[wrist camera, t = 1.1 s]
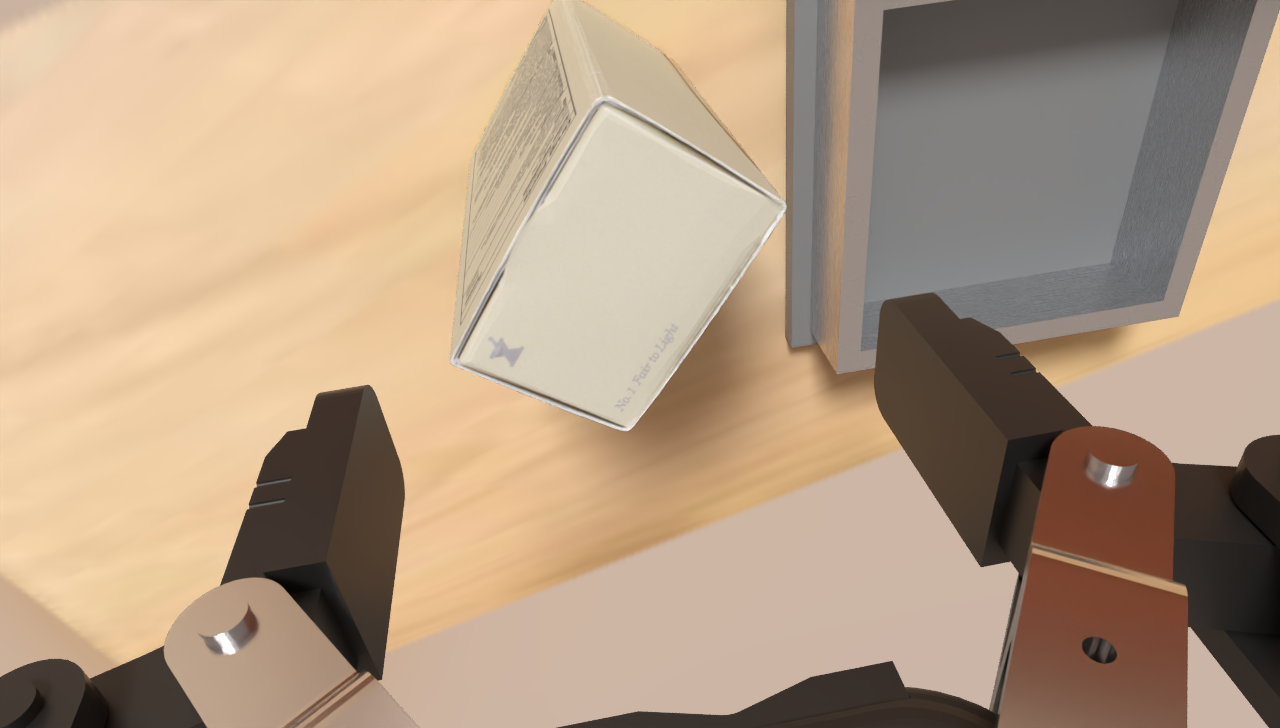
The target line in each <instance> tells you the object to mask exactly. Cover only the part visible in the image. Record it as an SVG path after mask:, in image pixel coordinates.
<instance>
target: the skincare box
mask: <svg viewBox="0 0 1280 728" xmlns="http://www.w3.org/2000/svg"><path fill="white" fill-rule="evenodd" d="M786 208H787V205H786V203H785V201H784V200H783V199H782V198H781V196H780V195H779V194H778V193H777V191H776V190H775V189H774V187H773V186H772V185H771V184H770V182H769V181H768V180H767V179H766V177H765V176H764V175H763V174H762V173H761V171H760V170H759V168H758V167H757V166H756V164H755V163H754V162H753V161H752V159H751V158H750V157H749V156H748V154H747V153H746V152H745V151H744V149H743V148H742V147H741V145H740V144H739V143H738V142H737V140H736V139H735V138H734V136H733V135H732V134H731V132H730V131H729V130H728V129H727V127H726V126H725V125H724V124H723V123H722V121H721V120H720V119H719V117H718V116H717V115H716V113H715V112H714V111H713V110H712V109H711V107H710V106H709V105H708V103H707V102H706V101H705V99H704V98H703V97H702V96H701V94H700V93H699V92H698V90H697V89H696V88H695V87H694V85H693V84H692V83H691V81H690V80H689V79H688V78H687V76H686V75H685V73H684V72H683V71H682V69H681V68H680V67H679V65H678V64H677V63H676V62H675V61H674V60H672V59H671V58H669V57H668V56H666V55H665V54H663V53H662V52H660V51H659V50H658V49H656V48H655V47H653V46H652V45H650V44H649V43H647V42H646V41H644V40H643V39H641V38H640V37H638V36H637V35H635V34H634V33H632V32H630V31H629V30H627V29H626V28H624V27H623V26H621V25H620V24H618V23H616V22H615V21H613V20H612V19H610V18H609V17H607V16H606V15H604V14H602V13H601V12H599V11H598V10H596V9H594V8H593V7H591V6H590V5H588V4H586V3H585V2H583V1H581V0H553V1H552V3H551V5H550V6H549V8H548V10H547V12H546V14H545V15H544V17H543V19H542V21H541V23H540V24H539V26H538V28H537V30H536V32H535V34H534V36H533V37H532V39H531V41H530V43H529V45H528V47H527V49H526V51H525V52H524V54H523V56H522V58H521V60H520V62H519V64H518V66H517V68H516V70H515V71H514V73H513V75H512V77H511V79H510V81H509V83H508V85H507V87H506V89H505V91H504V93H503V95H502V97H501V99H500V101H499V102H498V105H497V107H496V109H495V111H494V113H493V115H492V117H491V119H490V121H489V123H488V125H487V127H486V129H485V131H484V133H483V135H482V137H481V139H480V141H479V143H478V145H477V147H476V150H475V152H474V154H473V156H472V158H471V161H470V167H469V177H468V187H467V197H466V206H465V215H464V225H463V236H462V246H461V254H460V264H459V273H458V284H457V293H456V305H455V314H454V322H453V331H452V343H451V352H450V363H451V365H453V366H455V367H458V368H461V369H463V370H466V371H469V372H472V373H474V374H476V375H478V376H480V377H482V378H485V379H488V380H490V381H493V382H495V383H497V384H500V385H503V386H505V387H507V388H509V389H512V390H515V391H517V392H519V393H521V394H524V395H527V396H530V397H532V398H535V399H538V400H540V401H543V402H545V403H548V404H550V405H553V406H555V407H558V408H560V409H562V410H564V411H568V412H570V413H573V414H576V415H578V416H581V417H584V418H587V419H589V420H592V421H595V422H598V423H600V424H603V425H606V426H609V427H612V428H614V429H616V430H619V431H624V432H625V431H629V430H631V429H632V428H633V427H634V426H635V425H636V423H637V422H638V421H639V419H640V418H641V417H642V415H643V414H644V413H645V412H646V411H647V409H648V408H649V406H650V405H651V404H652V402H653V401H654V400H655V399H656V397H657V396H658V395H659V394H660V392H661V391H662V389H663V388H664V387H665V385H666V384H667V382H668V381H669V380H670V378H671V377H672V376H673V374H674V373H675V372H676V370H677V369H678V367H679V366H680V364H681V363H682V362H683V360H684V359H685V357H686V356H687V355H688V353H689V352H690V351H691V349H692V348H693V346H694V345H695V344H696V342H697V341H698V340H699V338H700V337H701V335H702V334H703V332H704V330H705V329H706V327H707V326H708V325H709V323H710V322H711V320H712V319H713V318H714V316H715V315H716V314H717V313H718V311H719V310H720V308H721V306H722V305H723V304H724V302H725V300H726V299H727V298H728V296H729V295H730V293H731V292H732V290H733V289H734V288H735V286H736V285H737V283H738V282H739V281H740V279H741V278H742V276H743V275H744V273H745V271H746V270H747V268H748V267H749V265H750V264H751V262H752V261H753V260H754V258H755V257H756V255H757V254H758V253H759V251H760V249H761V248H762V246H763V245H764V244H765V242H766V241H767V240H768V238H769V237H770V235H771V233H772V232H773V230H774V229H775V227H776V226H777V224H778V222H779V221H780V219H781V218H782V217H783V215H784V213H785V211H786Z"/></svg>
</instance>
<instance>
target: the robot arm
mask: <svg viewBox="0 0 1280 728" xmlns="http://www.w3.org/2000/svg"><path fill="white" fill-rule="evenodd" d="M874 388H875V395H876V400H877V404H878V407H879V410H880V412H881V414H882V416H883V418H884V420H885V421H886V423H887V424H888V426H889V427H890V429H891V430H892V432H893V433H894V435H895V436H896V438H897V439H898V441H899V443H900V444H901V446H902V447H903V449H904V450H905V452H906V453H907V455H908V456H909V458H910V459H911V461H912V463H913V464H914V466H915V467H916V469H917V470H918V471H919V473H920V475H921V476H922V477H923V479H924V481H925V482H926V484H927V486H928V487H929V489H930V490H931V491H932V493H933V495H934V496H935V498H936V499H937V501H938V502H939V504H940V505H941V507H942V508H943V510H944V511H945V513H946V515H947V516H948V518H949V519H950V521H951V522H952V524H953V525H954V527H955V528H956V530H957V531H958V533H959V535H960V536H961V538H962V539H963V541H964V542H965V544H966V545H967V547H968V548H969V550H970V551H971V553H972V554H973V556H974V558H975V559H976V561H977V562H978V564H979V565H980V567H984V566H990V565H995V564H1000V563H1005V562H1010V561H1011V562H1012V564H1013V565H1014V567H1015V568H1016V570H1017V571H1018V572H1019V574H1018V578H1017V582H1016V586H1015V590H1014V595H1013V599H1012V604H1011V609H1010V614H1009V619H1008V624H1007V628H1006V633H1005V638H1004V643H1003V647H1002V652H1001V657H1000V662H999V666H998V671H997V677H996V681H995V686H994V690H993V695H992V699H991V703H990V708H989V710H988V709H986V708H983V707H982V706H979V705H977V704H975V703H972V702H969V701H967V700H964V699H962V698H959V697H956V696H952V695H948V694H945V693H941V692H937V691H932V690H926V689H919V688H910V687H904V684H903V682H902V680H901V678H900V676H899V674H898V672H897V670H896V668H895V665H894V663H893V661H890V662H885V663H880V664H875V665H870V666H865V667H860V668H855V669H850V670H844V671H839V672H834V673H829V674H825V675H819V676H814V677H810V678H808V679H806V680H804V681H802V682H800V683H798V684H796V685H794V686H792V687H790V688H788V689H785V690H783V691H781V692H779V693H777V694H775V695H773V696H771V697H769V698H767V699H765V700H763V701H761V702H759V703H756V704H755V705H752V706H750V707H748V708H746V709H744V710H742V711H740V712H738V713H735V714H730V715H703V714H682V713H660V712H639V711H638V712H634V713H628V714H623V715H619V716H613V717H609V718H603V719H598V720H593V721H588V722H583V723H578V724H573V725H568V726H563V727H558V728H1187V670H1188V668H1187V667H1188V664H1187V663H1188V662H1187V661H1188V627H1191V628H1192V630H1193V631H1194V632H1195V633H1196V635H1197V636H1198V637H1199V638H1200V640H1201V641H1202V643H1203V644H1204V645H1205V646H1206V648H1207V649H1208V650H1209V651H1210V653H1211V654H1212V655H1213V657H1214V658H1215V659H1216V660H1217V662H1218V663H1219V664H1220V666H1221V667H1222V668H1223V669H1224V671H1225V672H1226V673H1227V674H1228V676H1229V677H1230V678H1231V680H1232V681H1233V682H1234V683H1235V685H1236V686H1237V687H1238V689H1239V690H1240V691H1241V692H1242V694H1243V695H1244V696H1245V698H1246V699H1247V700H1248V701H1249V703H1250V704H1251V705H1252V707H1253V708H1254V709H1255V710H1256V712H1257V713H1258V714H1259V715H1260V717H1261V718H1262V719H1263V721H1264V722H1265V723H1266V724H1267V726H1268V727H1269V728H1280V435H1272V436H1266V437H1262V438H1259V439H1257V440H1254V441H1253V442H1251V443H1250V444H1249V445H1248V446H1247V447H1246V449H1245V451H1244V453H1243V456H1242V458H1241V460H1240V462H1239V465H1238V467H1231V466H1213V465H1195V464H1178V463H1171V461H1170V460H1169V458H1168V457H1167V456H1166V455H1165V454H1164V453H1163V452H1162V451H1161V450H1160V449H1159V448H1157V447H1156V446H1155V445H1154V444H1152V443H1150V442H1149V441H1146V440H1145V439H1143V438H1141V437H1139V436H1137V435H1135V434H1132V433H1129V432H1126V431H1123V430H1119V429H1115V428H1109V427H1100V426H1092V425H1091V424H1090V423H1089V422H1088V421H1087V420H1086V419H1085V418H1084V417H1083V416H1082V415H1081V414H1080V413H1079V412H1078V411H1077V410H1076V409H1075V408H1074V407H1073V406H1072V405H1071V404H1070V403H1069V402H1068V401H1067V400H1066V399H1065V398H1064V397H1063V396H1062V395H1061V394H1060V393H1059V392H1058V391H1057V389H1056V388H1055V387H1054V386H1053V385H1052V384H1051V383H1050V382H1049V381H1048V380H1047V379H1046V378H1045V377H1044V376H1043V375H1042V374H1041V373H1040V372H1039V373H1036V368H1035V367H1034V366H1033V365H1032V364H1031V363H1030V362H1029V361H1028V360H1027V359H1026V358H1025V357H1024V356H1020V352H1019V351H1018V350H1017V349H1016V348H1015V347H1014V346H1013V345H1012V344H1011V343H1010V342H1009V341H1008V340H1007V339H1006V338H1005V337H1004V336H1003V335H1002V334H1001V333H1000V332H998V331H996V330H994V329H993V328H991V327H989V326H987V325H985V324H983V323H981V322H979V321H977V320H975V319H973V318H971V317H970V318H964V319H959V318H958V316H957V315H956V314H955V313H954V312H953V311H952V310H951V309H950V308H949V307H948V306H947V305H946V304H945V302H944V301H943V300H942V299H941V298H940V297H939V296H938V295H937V294H935V293H932V292H931V293H925V294H919V295H913V296H907V297H901V298H895V299H889V300H885V301H884V302H883V304H882V306H881V309H880V316H879V327H878V339H877V351H876V363H875V375H874ZM256 483H257V488H254V491H253V493H252V496H251V499H250V502H249V509H248V510H247V511H246V513H245V516H244V519H243V522H242V525H241V528H240V530H239V533H238V536H237V539H236V542H235V545H234V548H233V550H232V553H231V556H230V559H229V562H228V565H227V567H226V570H225V573H224V576H223V579H222V582H221V585H220V586H219V587H216V588H214V589H213V590H211V591H209V592H207V593H206V594H204V595H202V596H201V597H200V598H198V599H197V600H195V601H194V602H193V603H192V604H191V605H190V606H188V607H187V608H186V609H185V610H184V611H183V612H182V613H181V614H180V616H179V617H178V618H177V619H176V621H175V622H174V623H173V625H172V627H171V629H170V630H169V632H168V634H167V637H166V640H165V644H164V646H162V647H160V648H158V649H156V650H154V651H152V652H150V653H148V654H146V655H143V656H141V657H139V658H136V659H134V660H132V661H130V662H127V663H125V664H123V665H120V666H118V667H116V668H113V669H111V670H109V671H106V672H104V673H102V674H100V675H97V676H95V677H93V678H91V679H89V678H88V676H87V675H86V674H85V673H84V671H83V670H82V669H81V668H80V667H79V666H78V665H76V664H75V663H73V662H71V661H69V660H63V659H48V660H42V661H37V662H34V663H30V664H27V665H25V666H23V667H20V668H17V669H15V670H13V671H11V672H9V673H7V674H5V675H3V676H2V677H0V728H420V727H419V726H418V725H417V724H416V723H415V722H414V721H413V720H412V719H411V717H410V716H409V715H408V714H407V713H406V712H405V711H404V710H403V708H402V707H401V706H400V705H399V704H398V703H397V702H396V701H395V699H393V697H392V696H391V695H390V694H389V693H388V692H387V691H386V689H385V688H384V687H383V686H382V685H381V684H380V683H379V682H378V680H382V675H383V667H384V658H385V651H386V643H387V635H388V627H389V619H390V611H391V603H392V595H393V588H394V580H395V572H396V564H397V556H398V548H399V540H400V532H401V524H402V516H403V508H404V499H405V489H404V479H403V473H402V468H401V464H400V461H399V457H398V455H397V452H396V449H395V446H394V444H393V441H392V438H391V435H390V432H389V430H388V427H387V424H386V421H385V418H384V416H383V413H382V410H381V407H380V404H379V402H378V399H377V396H376V394H375V392H374V390H373V388H372V387H371V386H370V385H364V386H358V387H352V388H346V389H340V390H334V391H328V392H322V393H319V394H318V395H317V396H316V398H315V401H314V405H313V408H312V411H311V415H310V418H309V421H308V425H307V428H306V429H300V430H294V431H288V432H287V433H286V434H285V435H284V436H283V437H282V439H281V440H280V441H279V442H278V443H277V444H276V445H275V446H274V448H273V449H272V450H271V451H270V452H269V453H268V454H267V456H266V457H265V459H264V462H263V465H262V468H261V471H260V474H259V476H258V479H257V482H256Z"/></svg>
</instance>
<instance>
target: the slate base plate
mask: <svg viewBox="0 0 1280 728" xmlns="http://www.w3.org/2000/svg"><path fill="white" fill-rule="evenodd" d="M1178 1H1179V0H951V1H944V2H937V3H930V4H923V5H916V6H909V7H902V8H895V9H888V10H883V25H882V40H881V55H880V70H879V84H878V99H877V114H876V129H875V144H874V159H873V173H872V188H871V203H870V218H869V233H868V248H867V263H866V277H865V292H864V303H865V302H872V301H878V300H884V299H890V298H896V297H902V296H908V295H914V294H920V293H926V292H932V291H939V290H945V289H951V288H957V287H963V286H969V285H975V284H981V283H987V282H993V281H999V280H1005V279H1012V278H1018V277H1024V276H1030V275H1036V274H1042V273H1048V272H1054V271H1060V270H1066V269H1072V268H1078V267H1085V266H1091V265H1097V264H1103V263H1109V262H1111V258H1112V254H1113V250H1114V247H1115V243H1116V239H1117V235H1118V231H1119V227H1120V224H1121V220H1122V216H1123V212H1124V208H1125V204H1126V201H1127V197H1128V193H1129V189H1130V185H1131V181H1132V178H1133V174H1134V170H1135V166H1136V162H1137V159H1138V155H1139V151H1140V147H1141V143H1142V139H1143V136H1144V132H1145V128H1146V124H1147V120H1148V116H1149V113H1150V109H1151V105H1152V101H1153V97H1154V93H1155V90H1156V86H1157V82H1158V78H1159V74H1160V70H1161V67H1162V63H1163V59H1164V55H1165V51H1166V47H1167V44H1168V40H1169V36H1170V32H1171V28H1172V24H1173V21H1174V17H1175V13H1176V9H1177V5H1178ZM816 43H817V0H787V41H786V205H787V208H786V339H787V340H788V342H789V344H790V346H791V348H794V347H800V346H806V345H812V344H818V342H817V341H816V339H815V337H814V336H813V334H812V332H811V331H810V298H811V255H812V213H813V170H814V128H815V85H816Z"/></svg>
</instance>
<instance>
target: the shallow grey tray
mask: <svg viewBox="0 0 1280 728" xmlns="http://www.w3.org/2000/svg"><path fill="white" fill-rule="evenodd" d="M944 1H951V0H817V43H816V85H815V128H814V170H813V213H812V255H811V298H810V331H811V332H812V334H813V336H814V337H815V339H816V341H817V342H818V344H819V346H820V347H821V349H822V351H823V352H824V354H825V356H826V357H827V359H828V360H829V362H830V364H831V365H832V367H833V369H834V370H835V372H836V374H842V373H848V372H854V371H860V370H866V369H872V368H875V363H876V351H877V339H878V327H879V316H880V309H881V306H882V304H883V302H884V301H885V300H889V299H884V300H878V301H872V302H865V303H864V292H865V277H866V263H867V248H868V233H869V218H870V203H871V188H872V173H873V159H874V144H875V129H876V114H877V99H878V84H879V70H880V55H881V40H882V25H883V10H888V9H895V8H902V7H909V6H916V5H923V4H930V3H937V2H944ZM1279 10H1280V0H1179V1H1178V5H1177V9H1176V13H1175V17H1174V21H1173V24H1172V28H1171V32H1170V36H1169V40H1168V44H1167V47H1166V51H1165V55H1164V59H1163V63H1162V67H1161V70H1160V74H1159V78H1158V82H1157V86H1156V90H1155V93H1154V97H1153V101H1152V105H1151V109H1150V113H1149V116H1148V120H1147V124H1146V128H1145V132H1144V136H1143V139H1142V143H1141V147H1140V151H1139V155H1138V159H1137V162H1136V166H1135V170H1134V174H1133V178H1132V181H1131V185H1130V189H1129V193H1128V197H1127V201H1126V204H1125V208H1124V212H1123V216H1122V220H1121V224H1120V227H1119V231H1118V235H1117V239H1116V243H1115V247H1114V250H1113V254H1112V258H1111V262H1109V263H1103V264H1097V265H1091V266H1085V267H1078V268H1072V269H1066V270H1060V271H1054V272H1048V273H1042V274H1036V275H1030V276H1024V277H1018V278H1012V279H1005V280H999V281H993V282H987V283H981V284H975V285H969V286H963V287H957V288H951V289H945V290H939V291H932V293H935V294H937V295H938V296H939V297H940V298H941V299H942V300H943V301H944V302H945V304H946V305H947V306H948V307H949V308H950V309H951V310H952V311H953V312H954V313H955V314H956V315H957V316H958V318H959V319H964V318H970V317H971V318H973V319H975V320H977V321H979V322H981V323H983V324H985V325H987V326H989V327H991V328H993V329H994V330H996V331H998V332H1000V333H1001V334H1002V335H1003V336H1004V337H1005V338H1006V339H1007V340H1008V341H1009V342H1010V343H1011V344H1012V345H1013V344H1019V343H1025V342H1031V341H1037V340H1043V339H1049V338H1055V337H1061V336H1066V335H1072V334H1078V333H1084V332H1090V331H1096V330H1102V329H1108V328H1114V327H1119V326H1125V325H1131V324H1137V323H1143V322H1149V321H1155V320H1161V319H1167V318H1173V317H1178V316H1179V314H1180V310H1181V307H1182V304H1183V301H1184V298H1185V295H1186V292H1187V289H1188V286H1189V283H1190V280H1191V277H1192V274H1193V271H1194V268H1195V265H1196V262H1197V259H1198V256H1199V253H1200V250H1201V247H1202V244H1203V241H1204V238H1205V235H1206V232H1207V229H1208V225H1209V222H1210V219H1211V216H1212V213H1213V210H1214V207H1215V204H1216V201H1217V198H1218V195H1219V192H1220V189H1221V186H1222V183H1223V180H1224V177H1225V174H1226V171H1227V168H1228V165H1229V162H1230V159H1231V156H1232V153H1233V150H1234V147H1235V143H1236V140H1237V137H1238V134H1239V131H1240V128H1241V125H1242V122H1243V119H1244V116H1245V113H1246V110H1247V107H1248V104H1249V101H1250V98H1251V95H1252V92H1253V89H1254V86H1255V83H1256V80H1257V77H1258V74H1259V71H1260V68H1261V65H1262V62H1263V58H1264V55H1265V52H1266V49H1267V46H1268V43H1269V40H1270V37H1271V34H1272V31H1273V28H1274V25H1275V22H1276V19H1277V16H1278V13H1279ZM926 293H931V292H926ZM920 294H925V293H920ZM914 295H919V294H914ZM908 296H913V295H908ZM902 297H907V296H902ZM896 298H901V297H896ZM890 299H895V298H890Z"/></svg>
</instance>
